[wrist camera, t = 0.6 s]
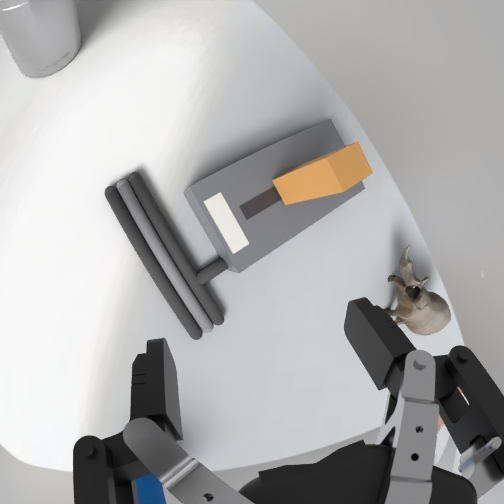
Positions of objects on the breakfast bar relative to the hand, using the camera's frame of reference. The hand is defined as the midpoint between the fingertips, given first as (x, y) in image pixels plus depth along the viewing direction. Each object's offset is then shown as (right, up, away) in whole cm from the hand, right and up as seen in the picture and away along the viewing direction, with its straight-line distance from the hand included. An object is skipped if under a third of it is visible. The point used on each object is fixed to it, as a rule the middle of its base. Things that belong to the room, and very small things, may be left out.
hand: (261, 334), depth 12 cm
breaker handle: (+4, +11, +20) cm, 23 cm away
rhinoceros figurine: (+23, -4, +33) cm, 40 cm away
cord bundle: (-8, +4, +20) cm, 22 cm away
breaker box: (+2, +11, +24) cm, 26 cm away
